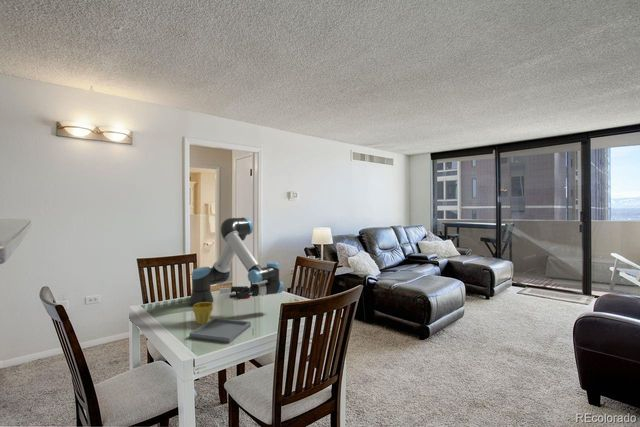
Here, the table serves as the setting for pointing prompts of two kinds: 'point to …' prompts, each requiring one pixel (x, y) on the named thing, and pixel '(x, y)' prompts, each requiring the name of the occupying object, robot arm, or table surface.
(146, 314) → the table surface
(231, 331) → the tray
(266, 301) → the table surface
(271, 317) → the table surface
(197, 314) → the plant pot
